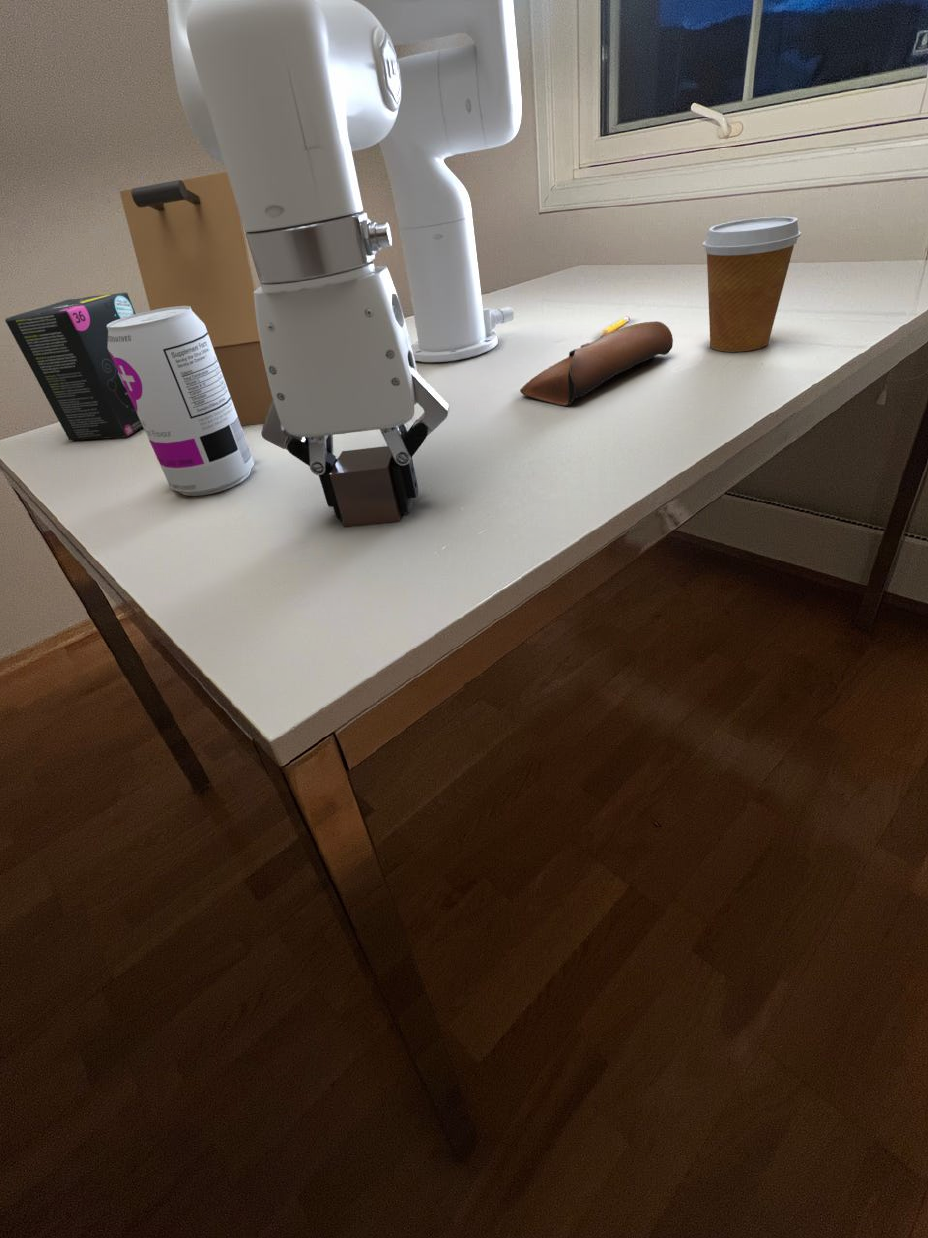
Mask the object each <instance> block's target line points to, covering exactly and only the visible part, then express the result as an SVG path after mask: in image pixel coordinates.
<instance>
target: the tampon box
mask: <svg viewBox="0 0 928 1238" xmlns="http://www.w3.org/2000/svg"><path fill="white" fill-rule="evenodd" d="M135 314H137V313H136V312H135V309H134V306H133V303H132V301H131V299H130V296H129V294H128V292H117V293H112V294H101V295H91V296H87V297H81V298H80V297H79V298H70V299H64V300H62V301H58V302H56V303H53V304H49V305H46V306H42V307H40V308H36V309H32V310H29V311H26V312H22V313H19V314H16V315H12V316H9V317H6V318H5V319H4V321H5V324H6V325H7V327H8V329H9V331H10V333H11V335H12V337H13V338H14V339H15V342H16V344H17V345H18V348H19V349H20V351H21V353H22V355H23V357H24V358H25V360H26V363H27V365H28V366H29V368H30V370H31V371H32V373H33V375H34V377H35V379H36V381H37V382H38V385H39V386H40V388H41V390H42V392H43V394H44V397H45V398H46V399H47V402H48V404H49V406H50V407H51V409H52V411H53V414H55V417H56V419H57V420H58V422H59V424H60V426H61V428H62V430H63V432H64V433H65V435H66V437H67V439H68V440H69V441H77V440H78V441H79V440H97V439H98V440H99V439H116V438H125V437H129V436H131V435H132V434H134V433H136V432H137V431H139V430H141V429H142V428H143V426H142V423H141V421H140V419H139V417H138V415H137V412H136V410H135V408H134V406H133V403H132V401H131V399H130V397H129V395H128V392H127V390H126V388H125V386H124V384H123V381H122V379H121V377H120V375H119V372H118V370H117V368H116V366H115V364H114V361H113V359H112V357H111V355H110V353H109V350H108V348H107V346H108V329H107V324H109V323H111V322H113V321H116V320H118V319H121V318H124V317H128V316H131V315H135Z"/></svg>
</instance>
